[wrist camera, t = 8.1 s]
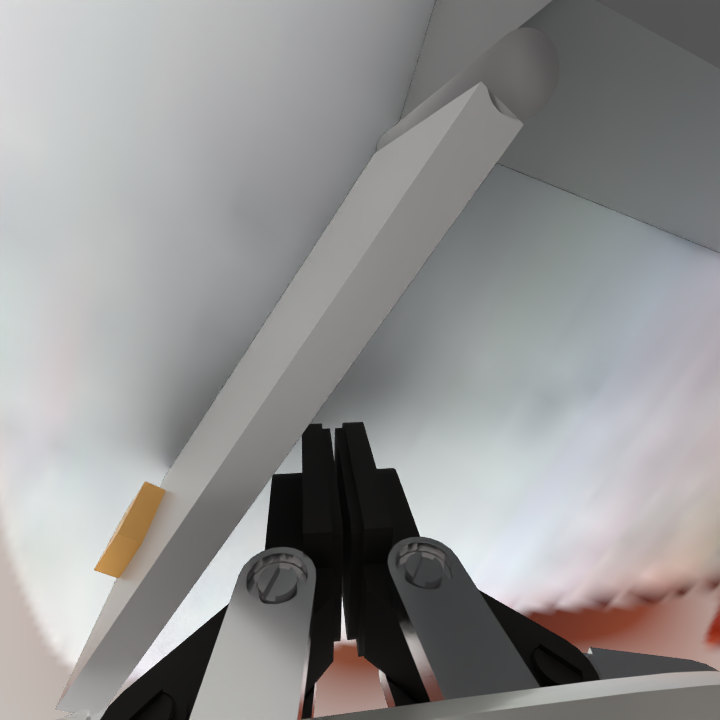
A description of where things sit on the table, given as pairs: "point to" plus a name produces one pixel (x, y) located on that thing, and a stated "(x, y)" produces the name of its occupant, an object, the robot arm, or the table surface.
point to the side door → (308, 348)
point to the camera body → (607, 101)
